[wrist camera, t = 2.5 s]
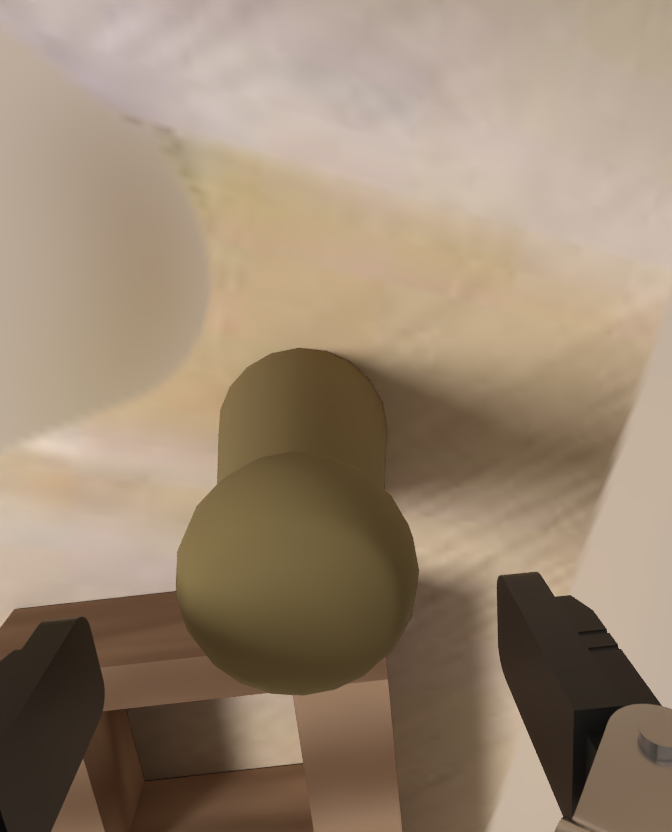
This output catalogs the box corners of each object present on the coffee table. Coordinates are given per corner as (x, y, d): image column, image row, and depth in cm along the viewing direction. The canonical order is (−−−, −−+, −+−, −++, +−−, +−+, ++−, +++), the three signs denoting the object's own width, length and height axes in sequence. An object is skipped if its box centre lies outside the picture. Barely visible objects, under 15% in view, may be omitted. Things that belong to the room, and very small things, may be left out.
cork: (239, 328, 21) (170, 439, 11) (408, 373, 22) (498, 519, 11) (202, 485, 23) (110, 714, 12) (359, 522, 24) (398, 768, 13)
